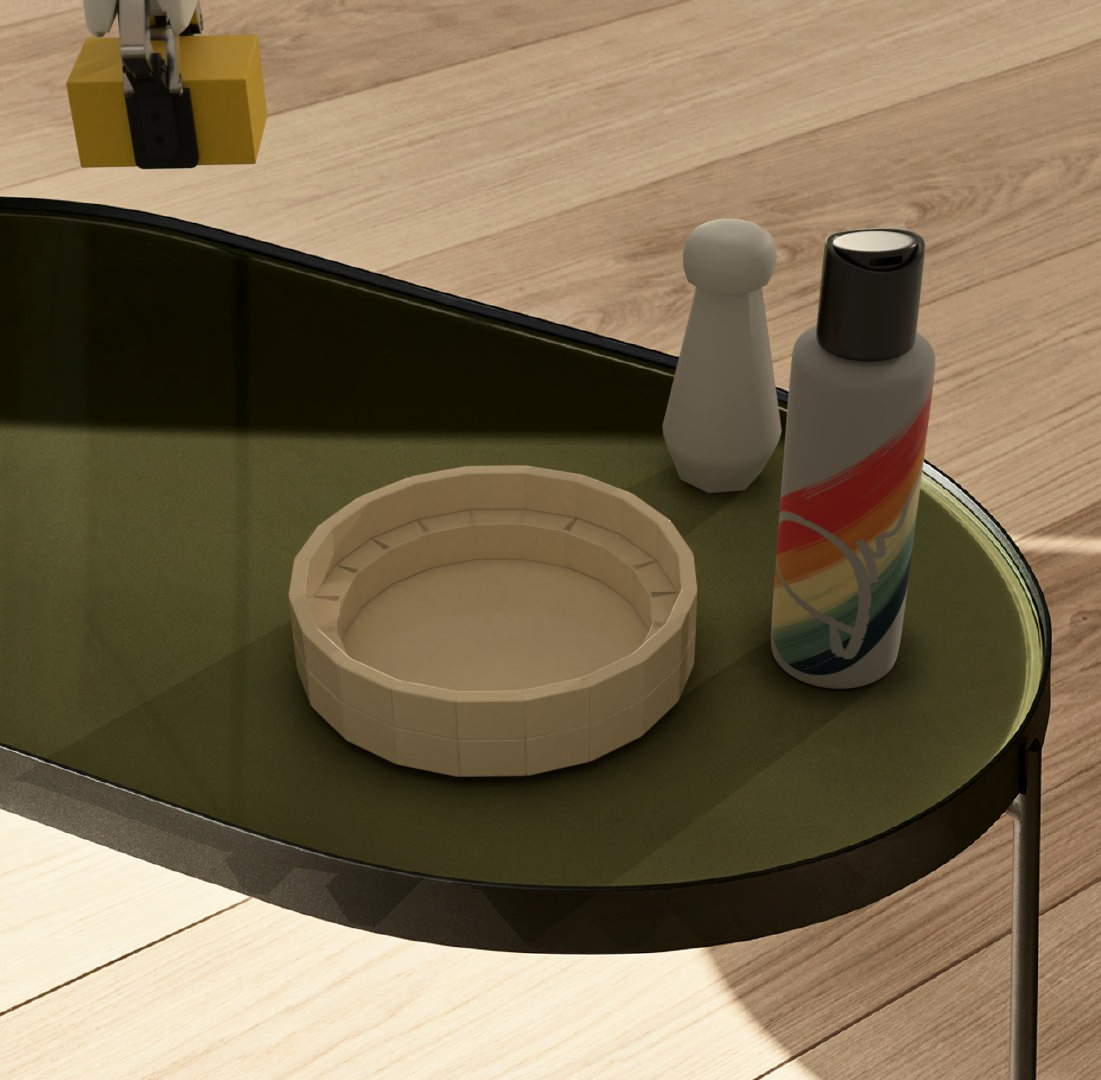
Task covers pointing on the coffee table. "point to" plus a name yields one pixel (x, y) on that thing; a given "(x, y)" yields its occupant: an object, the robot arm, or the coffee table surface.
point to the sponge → (207, 69)
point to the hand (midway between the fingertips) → (176, 135)
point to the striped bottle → (853, 463)
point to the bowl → (494, 620)
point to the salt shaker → (725, 361)
